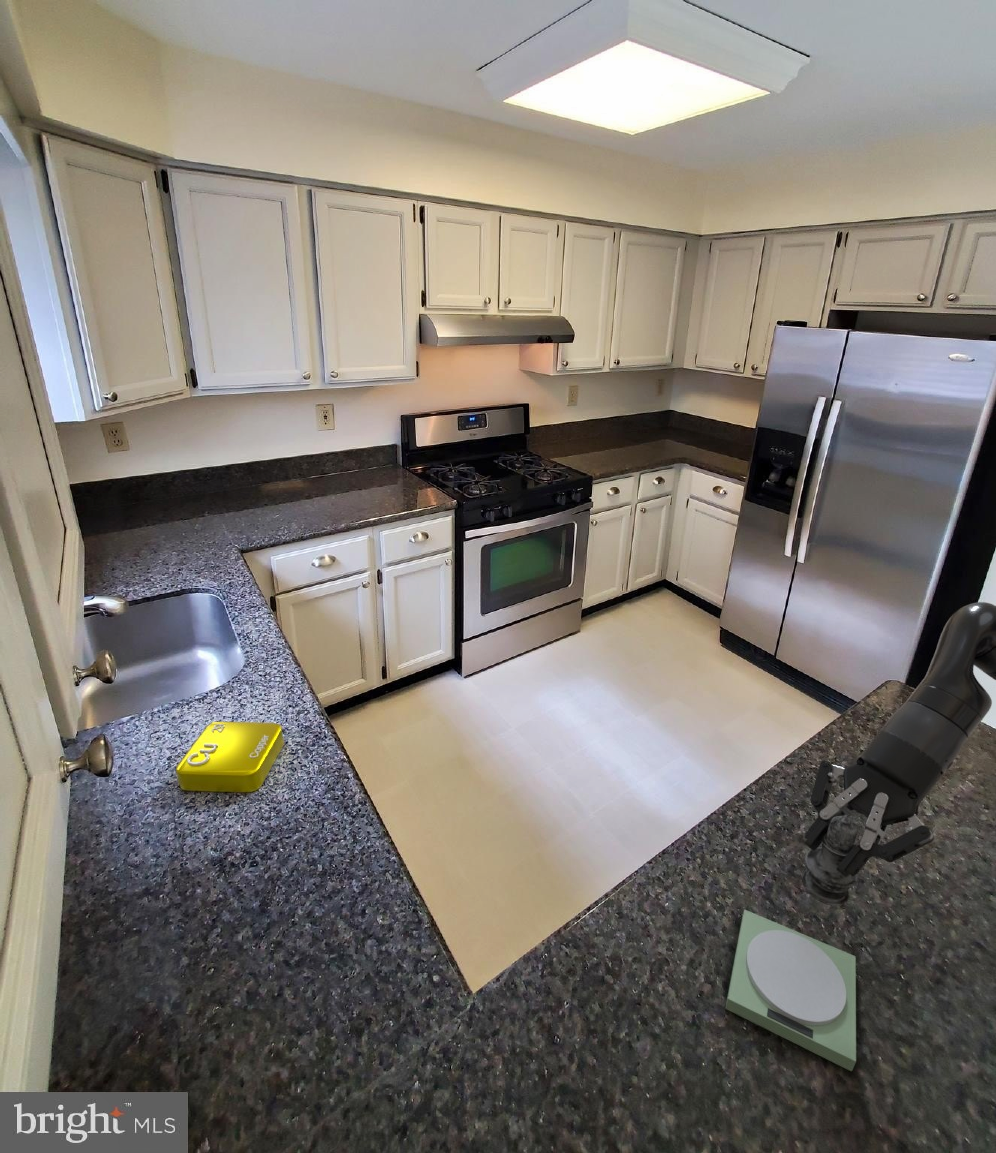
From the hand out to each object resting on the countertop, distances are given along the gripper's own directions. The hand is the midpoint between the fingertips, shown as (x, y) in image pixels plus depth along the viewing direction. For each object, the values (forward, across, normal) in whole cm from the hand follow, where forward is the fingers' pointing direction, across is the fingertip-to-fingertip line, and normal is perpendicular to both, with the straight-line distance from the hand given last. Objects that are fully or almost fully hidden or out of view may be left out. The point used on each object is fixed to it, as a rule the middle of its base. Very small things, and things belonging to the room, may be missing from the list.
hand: (825, 859), depth 72 cm
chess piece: (+3, 0, +6) cm, 6 cm away
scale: (+16, +2, +12) cm, 20 cm away
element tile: (+57, -75, -30) cm, 99 cm away
